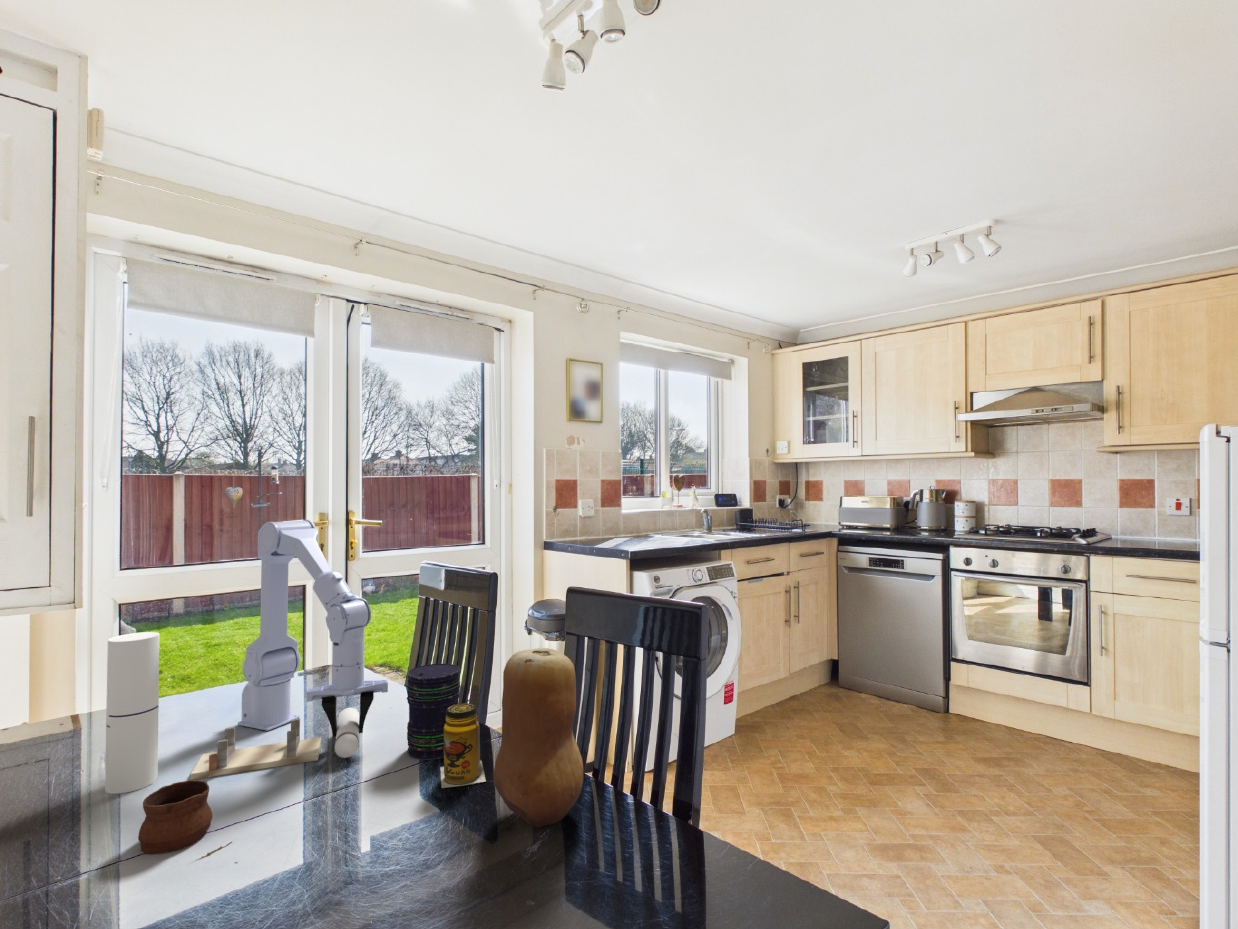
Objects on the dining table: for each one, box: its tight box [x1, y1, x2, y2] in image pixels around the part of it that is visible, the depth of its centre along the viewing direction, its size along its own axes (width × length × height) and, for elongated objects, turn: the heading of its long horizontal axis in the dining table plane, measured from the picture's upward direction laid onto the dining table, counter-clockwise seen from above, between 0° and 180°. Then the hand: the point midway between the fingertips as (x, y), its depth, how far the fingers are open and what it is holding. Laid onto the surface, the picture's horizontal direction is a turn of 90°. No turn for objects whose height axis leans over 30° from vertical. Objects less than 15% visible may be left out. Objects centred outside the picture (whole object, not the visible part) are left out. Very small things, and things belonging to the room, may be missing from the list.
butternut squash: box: [492, 647, 584, 828], centre depth 96 cm, size 14×13×25 cm
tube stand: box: [190, 718, 322, 780], centre depth 117 cm, size 20×9×6 cm, turn 112°
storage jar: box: [406, 663, 461, 761], centre depth 122 cm, size 10×10×15 cm
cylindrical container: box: [104, 631, 161, 795], centre depth 109 cm, size 7×7×25 cm
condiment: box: [439, 702, 487, 789], centre depth 111 cm, size 7×8×12 cm
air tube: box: [334, 707, 360, 759], centre depth 123 cm, size 16×4×4 cm, turn 22°
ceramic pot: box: [137, 779, 232, 861], centre depth 91 cm, size 18×18×7 cm
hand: (347, 733), depth 123 cm, fingers closed on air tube, 4 cm apart
